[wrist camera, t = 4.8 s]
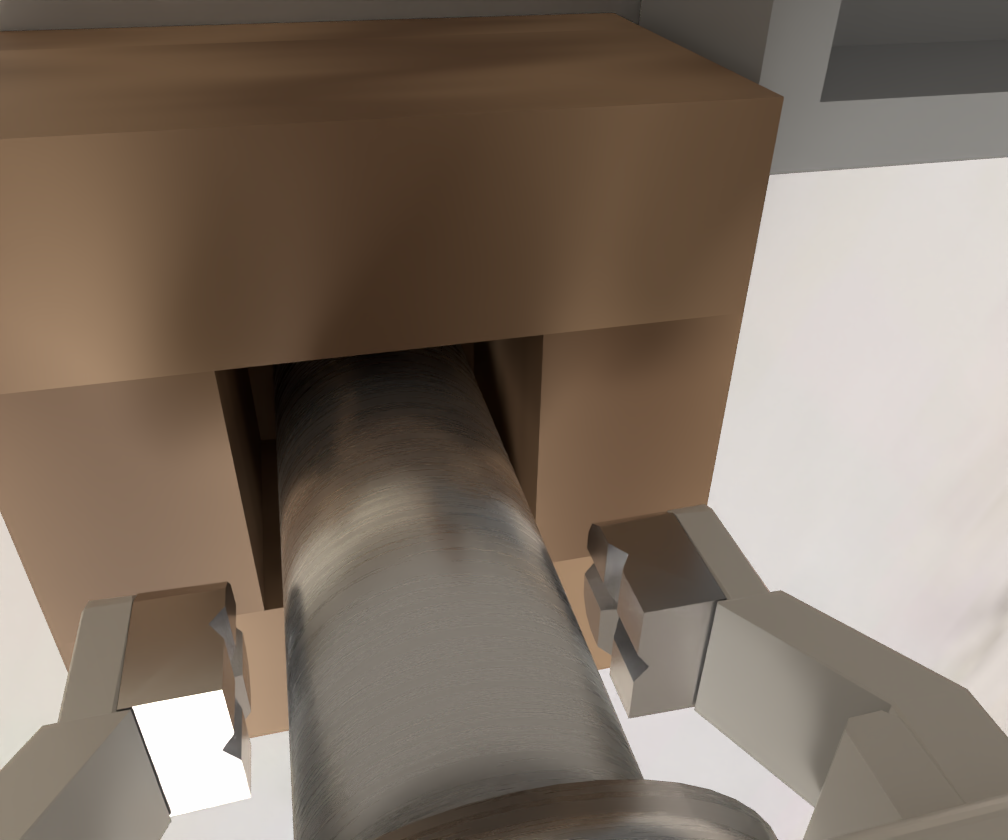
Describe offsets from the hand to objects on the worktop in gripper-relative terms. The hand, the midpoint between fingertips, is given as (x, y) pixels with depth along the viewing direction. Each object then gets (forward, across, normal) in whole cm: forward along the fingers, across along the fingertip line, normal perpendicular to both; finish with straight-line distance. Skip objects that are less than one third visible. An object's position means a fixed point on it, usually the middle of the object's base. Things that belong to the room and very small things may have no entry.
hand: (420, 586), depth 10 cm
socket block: (+8, 0, 0) cm, 8 cm away
